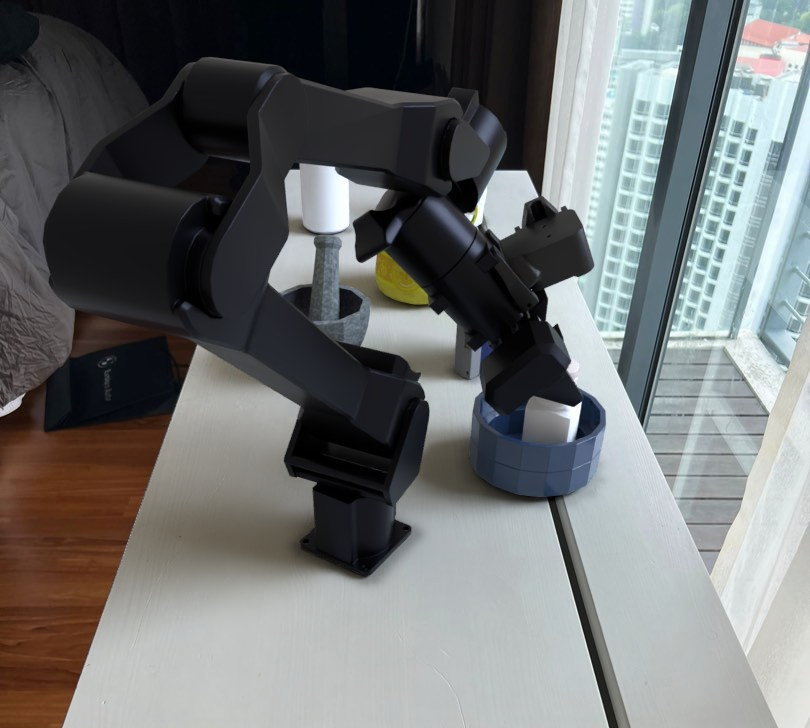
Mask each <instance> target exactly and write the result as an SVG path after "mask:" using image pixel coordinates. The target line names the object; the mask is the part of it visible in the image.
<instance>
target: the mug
mask: <svg viewBox="0 0 810 728" xmlns="http://www.w3.org/2000/svg"><path fill="white" fill-rule="evenodd" d="M465 214H470V215H473V218H472V220H471V222H472V223H473V224H474V223H475V220H476V218H477V214H478V205H477V206H476V208H475V210H474V211H473V212H472V213H465ZM374 275H375V282H376V284H377V287H378V289H379V291H380V292H382V294H384V296H387V298H390V299H393V301H396V302H400V303H405V304H410V305H429V302H428V295H427V293H426V292H425V291H424V290H423V289H422V288H421V287H420V286H419V285H418V284H417V283H416V282H415V281H414V280H413V279H412V278H411V277H410V276H409V275H408V274H407V273H406V272H405V271H404V270H403V269H402V268H401V267H400V266H399V265H398V264H397V263H396V262H395V261H394V260H393V259H392V258H391V257H390V256H389V255H388V254H387V253H386V252H385V251H382V252H381V253H379V254H377V255H376V259H375V267H374Z"/></svg>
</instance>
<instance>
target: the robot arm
mask: <svg viewBox="0 0 810 728" xmlns="http://www.w3.org/2000/svg"><path fill="white" fill-rule="evenodd" d="M507 144H508V137H507V132H506V130H504V127H503V124H502V123H501V122H500V120H499V119H498V117H497V116H496V115H495V114H494V113H493V112H492V111H491V110H489V109H488V108H486V107H485V106H484V105H482V104H480V99H479V91H478V90H477V89H468V88H461V87H451V90H450V91H449V92H448V94H447V96H446V97H445V96H439V95H438V96H437V95H431V94H430V95H429V94H421V93H413V92H405V91H398V90H390V89H384V88H383V89H382V88H377V87H376V88H375V87H361V88H354V89H347V90H343V89H340V88H336V87H332V86H329V85H325V84H321V83H318V82H315V81H311V80H307V79H305V78H300V77H297V76H296V75H294V74H293V73H290V72H288V71H287V70H286V69H285V68H284V67H283V66H281V65H277V64H271V63H262V62H253V61H245V60H237V59H228V58H221V57H213V56H208V57H201V58H199V59H198V60H197V61H193V62H188V63H186V65H185V66H184V67H182V68H181V69H180V71H179V72H178V73H177V75H176V77H175V78H174V79H173V81H172V83H171V84H170V85H169V87H168V89H167V90H166V91H165V93H164V94H163V96H162V97H161V98H160V99H159V100H158V101H156V102H155V103H153V104H152V105H150V106H148V107H147V108H145V109H144V110H143V111H141V112H140V113H139V114H136V116H134V117H132V118H130V120H128V121H127V122H125V123H123V124H122V125H120V126H119V127H117V128H116V129H115V130H113V131H112V132H110V133H109V134H107V135H105V136H104V137H103V138H102V139H100V140H99V141H98V142H97V143H96V144H95V145H94V146H93V147H92V149H91V150H90V152H89V153H88V154H87V156H86V157H85V158H84V160H83V162H82V163H81V164H80V166H79V168H78V169H77V171H76V172H75V173H74V175H73V176H72V178H71V179H70V180H69V182H67V184H66V185H65V187H63V188H62V190H61V191H59V193H57V196H56V198H55V201H54V202H53V205H52V207H51V208H50V211H49V212H48V215H47V217H46V220H45V222H44V225H43V232H42V246H43V252H44V257H45V261H46V265H47V268H48V271H49V276H48V279H47V281H48V285H49V288H50V289H51V290H52V292H53V294H54V295H55V296H56V298H58V299H59V300H60V301H61V302H63V303H64V304H65V305H66V306H68V307H69V308H70V309H73V310H74V311H78V312H81V313H85V314H89V315H93V316H97V317H101V318H104V319H108V320H112V321H115V322H120V323H124V324H126V325H127V324H128V325H132V326H135V327H138V328H142V329H146V330H151V331H155V332H158V333H163V334H167V335H170V336H174V337H178V338H182V339H186V340H189V341H191V342H192V343H194V344H196V345H197V346H199V347H200V348H201V349H204V350H206V351H207V352H209V353H211V354H213V355H214V356H216V357H217V358H219V359H221V360H222V361H223V362H226V363H227V364H229V365H231V366H233V367H234V368H235V369H238V370H239V371H241V372H242V373H244V374H246V375H247V376H249V377H251V378H253V379H254V380H256V381H257V382H259V383H260V384H262V385H264V386H266V387H267V388H269V389H271V390H273V391H274V392H276V393H277V394H279V395H280V396H282V397H284V398H286V399H288V400H289V401H290V402H292V403H294V404H296V405H297V406H299V410H298V413H297V416H296V421H295V422H294V423H295V424H294V426H293V429H292V432H291V435H290V438H289V441H288V444H287V447H286V449H285V452H284V456H283V464H284V466H285V468H286V471H287V473H288V476H289V477H291V478H295V479H297V478H300V479H303V480H306V481H309V482H313V483H315V485H314V486H312V487H311V488H312V489H311V490H312V504H313V518H314V519H313V520H314V521H313V523H314V527H313V528H312V529H311V530H310V531H308V532H307V533H306V534H305V535H304V536H303V537H302V538H301V539H300V540H299V547H300V549H302V550H303V551H306V552H308V553H310V554H313V555H316V556H317V557H320V558H322V559H324V560H327V561H329V562H331V563H333V564H335V565H338V566H340V567H342V568H344V569H347V570H349V571H351V572H353V573H355V574H358V575H361V576H363V577H370V576H371V575H372V574H374V572H376V570H377V569H378V568H380V567H381V566H382V564H383V563H384V562H385V561H386V560H387V559H388V558H389V557H390V556H391V555H393V553H394V552H395V551H396V550H397V549H398V548H399V547H400V546H401V545H402V544H403V543H404V542H405V541H406V540H407V539H408V538H409V537H410V536H411V535H412V533H413V528H412V526H411V525H410V524H408V523H406V522H402V521H401V520H398V519H396V516H397V503H398V502H399V501H400V500H401V498H402V497H403V495H404V494H405V493H406V492H407V490H408V489H409V488H410V486H411V485H412V484H413V483H414V482H415V480H416V479H417V478H418V477H419V475H420V472H421V466H422V461H423V455H424V451H425V450H424V449H425V445H426V438H427V433H428V428H429V422H430V409H431V408H430V405H429V402H428V400H425V399H426V393H425V390H424V387H422V385H421V383H420V382H419V380H420V378H421V376H422V372H421V371H419V370H414V369H412V368H411V366H410V364H409V362H408V360H406V358H404V357H403V356H401V355H400V354H396V353H391V352H386V351H384V350H378V349H376V348H375V349H374V348H370V347H366V346H362V345H361V346H358V345H354V344H349V343H345V342H341V341H337V340H333V339H332V338H331V337H330V336H329V335H328V334H326V333H325V332H324V331H323V330H322V329H321V328H319V327H318V326H317V325H316V324H315V323H314V322H313V321H311V320H310V319H309V318H308V317H307V316H306V315H304V314H303V313H302V312H301V311H300V310H299V309H297V308H296V307H295V306H294V305H293V304H292V303H290V302H289V301H288V300H287V299H286V298H285V297H284V296H282V295H281V294H280V291H278V290H277V289H276V288H275V287H273V286H272V285H271V284H270V282H269V280H270V276H271V272H272V271H271V270H272V268H273V267H274V265H275V263H276V261H277V260H278V258H279V256H280V254H281V252H282V250H283V248H284V247H285V245H286V243H287V241H288V239H289V235H290V225H289V212H288V205H287V204H288V203H287V202H288V201H287V191H286V181H285V180H286V179H287V176H288V175H289V173H290V171H291V170H292V167H293V166H294V163H295V164H300V163H302V164H311V165H320V166H330V167H335V171H336V172H337V174H339V175H341V176H343V177H344V178H346V179H348V180H349V182H352V183H354V184H356V185H359V186H364V187H370V188H377V189H383V190H386V191H385V192H384V193H383V194H382V196H381V198H380V199H379V201H378V203H377V204H376V206H375V208H374V209H369V210H367V211H366V212H365V213H363V214H361V215H360V216H359V217H357V218H355V219H354V220H353V221H352V227H353V230H354V238H355V240H354V253H355V259H356V261H357V262H358V263H359V264H363V263H366V262H367V261H369V260H370V259H373V258H374V257H377V254H379V253H381V252H382V251H385V252H386V253H387V254H388V255H389V256H390V257H391V258H392V259H393V260H394V261H395V262H396V263H397V264H398V265H399V266H400V267H401V268H402V269H403V270H404V271H405V272H406V273H407V274H408V275H409V276H410V277H411V278H412V279H413V280H414V281H415V282H416V283H417V284H418V285H419V286H420V287H421V288H422V289H423V290H424V291H425V292H426V293H427V295H428V302H429V304H428V307H429V308H430V309H431V310H432V311H433V312H434V313H435V315H437V316H440V315H441V314H442V313H445V314H446V315H447V316H448V317H449V318H450V319H451V320H452V321H453V322H454V323H455V324H456V326H457V325H458V326H459V327H460V328H461V329H462V330H463V331H464V334H465V340H466V344H467V345H468V346H469V347H470V348H471V349H472V350H473V351H474V352H476V351H477V350H478V349H479V348H480V347H482V346H483V345H484V344H485V343H486V342H488V346H489V347H490V348H492V350H493V351H492V352H491V353H490V354H489V355H487V356H486V357H485V358H484V359H483V360H481V366H480V374H479V381H480V387H481V392H482V391H483V396H484V400H485V401H486V402H487V403H488V404H489V405H490V406H491V407H492V408H493V409H494V410H495V411H496V412H497V413H498V414H499V415H500V416H508V415H510V414H511V413H512V412H514V411H515V410H516V409H517V408H519V407H520V406H521V405H522V404H524V403H525V402H526V401H528V400H529V399H530V398H531V397H533V396H536V397H539V398H543V399H546V400H550V401H553V402H557V403H560V404H564V405H567V406H570V407H575V406H577V405H578V404H579V403H581V402H582V401H583V400H584V398H583V395H582V394H581V392H580V390H579V389H578V388H579V387H578V384H577V385H576V384H575V382H574V380H573V379H572V377H571V375H570V374H569V372H568V370H567V368H568V366H569V364H570V363H571V358H572V357H571V356H570V353H569V351H568V348H567V346H566V343H565V338H564V336H563V333H562V330H561V328H560V325H559V324H558V323H556V324H554V326H553V325H552V324H550V322H548V321H547V313H548V305H549V297H548V294H547V292H546V289H547V288H550V287H552V286H555V285H557V284H559V283H562V282H564V281H566V280H569V279H571V278H573V277H576V278H580V277H583V276H585V275H587V274H589V273H590V272H592V270H594V268H595V261H594V258H593V255H592V252H591V248H590V244H589V242H588V238H587V235H586V232H585V228H584V225H583V223H582V221H581V219H580V217H579V215H578V214H577V212H576V210H574V209H572V208H567V206H566V205H563V206H561V207H560V211H559V210H558V209H557V208H556V206H555V205H553V204H552V203H551V202H550V201H549V200H548V199H547V198H545V196H544V195H539V196H537V197H535V198H532V199H531V200H528V201H526V202H524V204H523V211H522V216H521V217H522V218H521V227H520V225H517V226H515V227H514V233H512V234H510V235H508V236H506V237H503V238H502V239H500V238H499V237H498V236H497V235H496V234H495V233H494V232H493V231H492V229H490V228H488V229H485V228H484V227H483V226H482V227H480V228H479V229H478V227H475V226H474V224H473V223H472V222H471V221H470V220H469V219H468V218H467V217H466V216H465V213H472V212H473V211H474V210H475V208H476V206H477V204H478V202H479V200H480V198H481V196H482V195H483V193H484V191H485V189H486V187H487V188H488V185H489V183H490V181H491V179H492V178H493V175H494V173H495V171H496V170H497V168H498V166H499V164H500V162H501V160H502V158H503V156H504V154H505V152H506V149H507ZM210 157H214V158H218V159H219V158H220V159H226V160H232V161H238V162H243V163H249V168H250V169H249V174H248V175H247V177H246V179H245V180H244V182H243V184H242V185H241V186H240V189H239V190H238V192H237V194H236V196H234V199H231V198H229V197H228V196H224V195H219V194H214V193H208V192H203V191H197V190H192V189H186V188H181V187H177V186H179V185H180V184H181V183H183V182H184V181H185V180H187V179H188V178H190V177H191V176H193V175H194V174H196V173H197V172H199V171H200V170H201V169H202V168H203V167H204V166H205V164H206V163H207V161H208V159H209V158H210Z"/></svg>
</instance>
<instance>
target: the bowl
mask: <svg viewBox="0 0 810 728" xmlns="http://www.w3.org/2000/svg"><path fill="white" fill-rule="evenodd" d="M578 389H579V390H580V392H581V394H582V395H583V398H584V400H583V401H582V404H581V410H580V416H579V422H578V428H577V434H576V441H573V442H566V443H557V444H541V443H531V442H523V441H522V435H523V426H524V417H525V409H526V405H527V403H528V401H529V400H528V401H526V402H525V403H524V404H522V405H521V406H520V407H519V408H517V409H516V410H515V411H514V412H512V413H511V414H510V415H508V416H500V415H499V414H498V413H497V412H496V411H495V410H494V409H493V408H492V407H491V406H490V405H489V404H488V403H487V402H486V401H485V400H484V396H483V391H482V390H481V392H479V394H478V395H476V396H475V398H474V401H473V407H472V414H471V426H470V439H469V449H468V461H469V463H470V465H471V467H472V468H473V470H474V472H475V474H476V475H478V476H479V477H480V478H481V479H483V480H485V481H486V482H487V483H488V484H489V485H491V486H492V487H495V488H497V489H501V490H503V491H506V492H509V493H512V494H514V495H517V496H518V495H519V496H525V497H535V498H549V497H555V496H565V495H569V494H571V493H574V492H575V491H578V490H580V489H582V488H584V487H586V486H587V485H588V484H589V483H590V482H591V480H592V479H593V478H594V476H595V475H596V474H597V471H598V467H599V461H600V457H601V452H602V448H603V447H602V446H603V441H604V438H605V431H606V428H607V412H606V409H605V408H604V406H603V405H602V404H601V402H599V400H598V399H597V398H596V397H595V396H593V395H592V394H590V393H588V392H587V391H585V390H584V389H582V388H580V387H578Z"/></svg>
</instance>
